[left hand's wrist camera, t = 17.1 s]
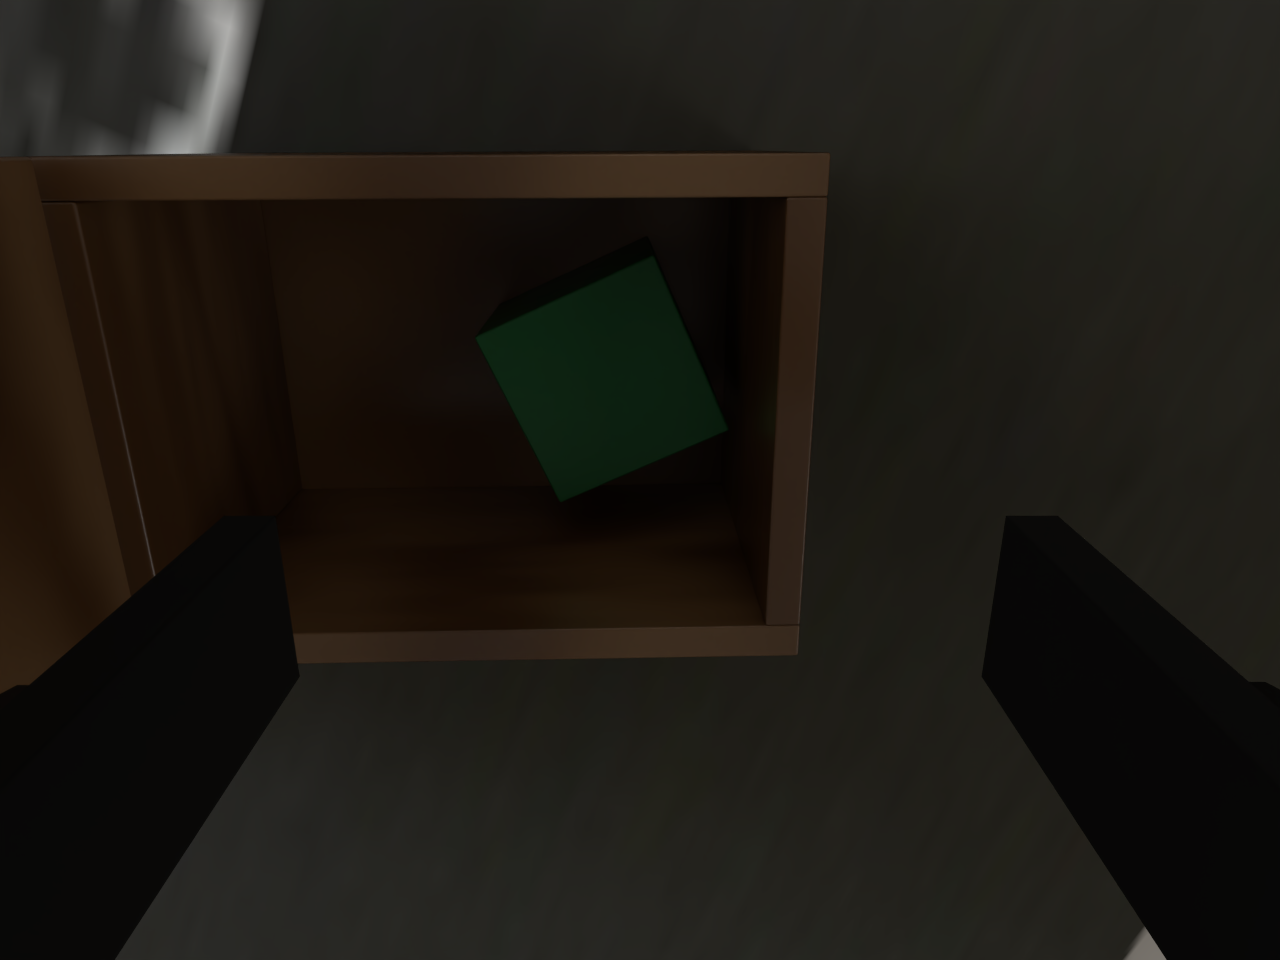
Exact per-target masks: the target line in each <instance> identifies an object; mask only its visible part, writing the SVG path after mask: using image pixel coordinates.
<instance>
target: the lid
mask: <svg viewBox="0 0 1280 960" xmlns="http://www.w3.org/2000/svg"><path fill="white" fill-rule="evenodd" d="M130 597H131V595H130V590H129V586H128V581H127V577H126V573H125V568H124V564H123V559H122V555H121V550H120V546H119V542H118V537H117V533H116V528H115V524H114V520H113V515H112V511H111V506H110V502H109V498H108V493H107V489H106V484H105V480H104V476H103V471H102V467H101V462H100V458H99V454H98V449H97V445H96V440H95V436H94V432H93V427H92V423H91V418H90V414H89V410H88V405H87V401H86V396H85V392H84V387H83V383H82V379H81V374H80V370H79V365H78V361H77V357H76V352H75V348H74V343H73V339H72V335H71V330H70V326H69V321H68V317H67V313H66V308H65V304H64V299H63V295H62V291H61V286H60V282H59V277H58V273H57V269H56V264H55V260H54V255H53V251H52V247H51V242H50V238H49V233H48V229H47V225H46V220H45V216H44V211H43V207H42V202H41V198H40V194H39V189H38V185H37V180H36V176H35V172H34V167H33V163H32V160H31V159H30V158H28V157H0V694H1V693H3V692H5V691H7V690H8V689H10V688H12V687H14V686H16V685H30V684H31V683H32V682H33V681H34V680H35V679H37V678H38V677H39V676H40V675H41V674H42V673H44V672H45V671H46V670H47V669H48V668H49V667H50V666H52V665H53V664H54V663H55V662H56V661H57V660H58V659H60V658H61V657H62V656H63V655H64V654H65V653H67V652H68V651H69V650H70V649H71V648H72V647H73V646H75V645H76V644H77V643H78V642H79V641H80V640H82V639H83V638H84V637H85V636H86V635H87V634H88V633H90V632H91V631H92V630H93V629H94V628H95V627H96V626H98V625H99V624H100V623H101V622H102V621H103V620H105V619H106V618H107V617H108V616H109V615H110V614H111V613H113V612H114V611H115V610H116V609H117V608H118V607H120V606H121V605H122V604H123V603H124V602H125V601H126V600H128V599H129V598H130Z"/></svg>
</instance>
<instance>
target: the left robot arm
mask: <svg viewBox="0 0 1280 960" xmlns="http://www.w3.org/2000/svg"><path fill="white" fill-rule="evenodd" d="M299 677H300V676H299V669H298V663H297V656H296V649H295V643H294V636H293V629H292V623H291V616H290V609H289V603H288V596H287V590H286V583H285V576H284V570H283V563H282V556H281V550H280V543H279V536H278V530H277V523H276V517H275V516H223V517H222V518H221V519H220V520H219V521H217V522H216V523H215V524H214V525H213V526H212V527H210V528H209V529H208V530H207V531H206V532H205V533H204V534H202V535H201V536H200V537H199V538H198V539H197V540H195V541H194V542H193V543H192V544H191V545H190V546H189V547H187V548H186V549H185V550H184V551H183V552H182V553H181V554H179V555H178V556H177V557H176V558H175V559H174V560H172V561H171V562H170V563H169V564H168V565H167V566H166V567H164V568H163V569H162V570H161V571H160V572H159V573H158V574H156V575H155V576H154V577H153V578H152V579H151V580H149V581H148V582H147V583H146V584H145V585H144V586H143V587H141V588H140V589H139V590H138V591H137V592H136V593H134V594H133V595H132V596H131V597H130V598H129V599H128V600H126V601H125V602H124V603H123V604H122V605H121V606H120V607H118V608H117V609H116V610H115V611H114V612H113V613H111V614H110V615H109V616H108V617H107V618H106V619H105V620H103V621H102V622H101V623H100V624H99V625H98V626H96V627H95V628H94V629H93V630H92V631H91V632H90V633H88V634H87V635H86V636H85V637H84V638H83V639H82V640H80V641H79V642H78V643H77V644H76V645H75V646H73V647H72V648H71V649H70V650H69V651H68V652H67V653H65V654H64V655H63V656H62V657H61V658H60V659H58V660H57V661H56V662H55V663H54V664H53V665H52V666H50V667H49V668H48V669H47V670H46V671H45V672H44V673H42V674H41V675H40V676H39V677H38V678H37V679H35V680H34V681H33V682H32V683H31V684H30V685H16V686H14V687H12V688H10V689H8V690H7V691H5V692H3V693H1V694H0V960H115V958H116V957H117V955H118V954H119V952H120V951H121V949H122V948H123V946H124V945H125V943H126V942H127V940H128V938H129V937H130V935H131V934H132V932H133V931H134V929H135V928H136V926H137V925H138V923H139V922H140V920H141V919H142V917H143V915H144V914H145V912H146V911H147V909H148V908H149V906H150V905H151V903H152V902H153V900H154V899H155V897H156V896H157V894H158V893H159V891H160V889H161V888H162V886H163V885H164V883H165V882H166V880H167V879H168V877H169V876H170V874H171V873H172V871H173V870H174V868H175V866H176V865H177V863H178V862H179V860H180V859H181V857H182V856H183V854H184V853H185V851H186V850H187V848H188V847H189V845H190V844H191V842H192V840H193V839H194V837H195V836H196V834H197V833H198V831H199V830H200V828H201V827H202V825H203V824H204V822H205V821H206V819H207V817H208V816H209V814H210V813H211V811H212V810H213V808H214V807H215V805H216V804H217V802H218V801H219V799H220V798H221V796H222V795H223V793H224V791H225V790H226V788H227V787H228V785H229V784H230V782H231V781H232V779H233V778H234V776H235V775H236V773H237V772H238V770H239V768H240V767H241V765H242V764H243V762H244V761H245V759H246V758H247V756H248V755H249V753H250V752H251V750H252V749H253V747H254V746H255V744H256V742H257V741H258V739H259V738H260V736H261V735H262V733H263V732H264V730H265V729H266V727H267V726H268V724H269V723H270V721H271V719H272V718H273V716H274V715H275V713H276V712H277V710H278V709H279V707H280V706H281V704H282V703H283V701H284V700H285V698H286V697H287V695H288V693H289V692H290V690H291V689H292V687H293V686H294V684H295V683H296V681H297V680H298V678H299ZM982 678H983V679H984V681H985V682H986V684H987V685H988V687H989V688H990V690H991V692H992V693H993V695H994V696H995V698H996V699H997V701H998V702H999V704H1000V705H1001V707H1002V708H1003V710H1004V711H1005V713H1006V714H1007V716H1008V718H1009V719H1010V721H1011V722H1012V724H1013V725H1014V727H1015V728H1016V730H1017V731H1018V733H1019V734H1020V736H1021V737H1022V739H1023V741H1024V742H1025V744H1026V745H1027V747H1028V748H1029V750H1030V751H1031V753H1032V754H1033V756H1034V757H1035V759H1036V760H1037V762H1038V763H1039V765H1040V767H1041V768H1042V770H1043V771H1044V773H1045V774H1046V776H1047V777H1048V779H1049V780H1050V782H1051V783H1052V785H1053V786H1054V788H1055V789H1056V791H1057V793H1058V794H1059V796H1060V797H1061V799H1062V800H1063V802H1064V803H1065V805H1066V806H1067V808H1068V809H1069V811H1070V812H1071V814H1072V816H1073V817H1074V819H1075V820H1076V822H1077V823H1078V825H1079V826H1080V828H1081V829H1082V831H1083V832H1084V834H1085V835H1086V837H1087V838H1088V840H1089V842H1090V843H1091V845H1092V846H1093V848H1094V849H1095V851H1096V852H1097V854H1098V855H1099V857H1100V858H1101V860H1102V861H1103V863H1104V865H1105V866H1106V868H1107V869H1108V871H1109V872H1110V874H1111V875H1112V877H1113V878H1114V880H1115V881H1116V883H1117V884H1118V886H1119V887H1120V889H1121V891H1122V892H1123V894H1124V895H1125V897H1126V898H1127V900H1128V901H1129V903H1130V904H1131V906H1132V907H1133V909H1134V910H1135V912H1136V913H1137V915H1138V917H1139V918H1140V920H1141V921H1142V923H1143V924H1144V926H1145V927H1146V929H1147V930H1148V932H1149V933H1150V935H1151V936H1152V938H1153V940H1154V941H1155V943H1156V944H1157V945H1158V947H1159V949H1160V950H1161V952H1162V953H1163V955H1164V956H1165V958H1166V959H1167V960H1280V690H1279V689H1278V688H1276V687H1274V686H1272V685H1270V684H1268V683H1266V682H1248V681H1247V680H1246V679H1245V678H1244V677H1243V676H1241V675H1240V674H1239V673H1238V672H1237V671H1236V670H1234V669H1233V668H1232V667H1231V666H1230V665H1229V664H1228V663H1226V662H1225V661H1224V660H1223V659H1222V658H1221V657H1219V656H1218V655H1217V654H1216V653H1215V652H1214V651H1213V650H1211V649H1210V648H1209V647H1208V646H1207V645H1206V644H1205V643H1203V642H1202V641H1201V640H1200V639H1199V638H1198V637H1196V636H1195V635H1194V634H1193V633H1192V632H1191V631H1190V630H1188V629H1187V628H1186V627H1185V626H1184V625H1183V624H1181V623H1180V622H1179V621H1178V620H1177V619H1176V618H1175V617H1173V616H1172V615H1171V614H1170V613H1169V612H1168V611H1167V610H1165V609H1164V608H1163V607H1162V606H1161V605H1160V604H1158V603H1157V602H1156V601H1155V600H1154V599H1153V598H1152V597H1150V596H1149V595H1148V594H1147V593H1146V592H1145V591H1143V590H1142V589H1141V588H1140V587H1139V586H1138V585H1137V584H1135V583H1134V582H1133V581H1132V580H1131V579H1130V578H1128V577H1127V576H1126V575H1125V574H1124V573H1123V572H1122V571H1120V570H1119V569H1118V568H1117V567H1116V566H1115V565H1114V564H1112V563H1111V562H1110V561H1109V560H1108V559H1107V558H1105V557H1104V556H1103V555H1102V554H1101V553H1100V552H1099V551H1097V550H1096V549H1095V548H1094V547H1093V546H1092V545H1090V544H1089V543H1088V542H1087V541H1086V540H1085V539H1084V538H1082V537H1081V536H1080V535H1079V534H1078V533H1077V532H1076V531H1074V530H1073V529H1072V528H1071V527H1070V526H1069V525H1067V524H1066V523H1065V522H1064V521H1063V520H1062V519H1061V518H1059V517H1058V516H1006V519H1005V526H1004V533H1003V539H1002V546H1001V552H1000V559H999V566H998V572H997V579H996V586H995V592H994V599H993V605H992V612H991V619H990V625H989V632H988V638H987V645H986V652H985V658H984V665H983V671H982Z"/></svg>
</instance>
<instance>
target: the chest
mask: <svg viewBox="0 0 1280 960" xmlns="http://www.w3.org/2000/svg"><path fill="white" fill-rule="evenodd" d="M26 157H28V158H30V159H31V160H32V163H33V167H34V172H35V176H36V180H37V185H38V189H39V194H40V198H41V202H42V207H43V211H44V216H45V220H46V225H47V229H48V233H49V238H50V242H51V247H52V251H53V255H54V260H55V264H56V269H57V273H58V277H59V282H60V286H61V291H62V295H63V299H64V304H65V308H66V313H67V317H68V321H69V326H70V330H71V335H72V339H73V343H74V348H75V352H76V357H77V361H78V365H79V370H80V374H81V379H82V383H83V387H84V392H85V396H86V401H87V405H88V410H89V414H90V418H91V423H92V427H93V432H94V436H95V440H96V445H97V449H98V454H99V458H100V462H101V467H102V471H103V476H104V480H105V484H106V489H107V493H108V498H109V502H110V506H111V511H112V515H113V520H114V524H115V528H116V533H117V537H118V542H119V546H120V550H121V555H122V559H123V564H124V568H125V573H126V577H127V581H128V586H129V590H130V595H131V596H132V595H133V594H134V593H136V592H137V591H138V590H139V589H140V588H141V587H143V586H144V585H145V584H146V583H147V582H148V581H149V580H151V579H152V578H153V577H154V576H155V575H156V574H158V573H159V572H160V571H161V570H162V569H163V568H164V567H166V566H167V565H168V564H169V563H170V562H171V561H172V560H174V559H175V558H176V557H177V556H178V555H179V554H181V553H182V552H183V551H184V550H185V549H186V548H187V547H189V546H190V545H191V544H192V543H193V542H194V541H195V540H197V539H198V538H199V537H200V536H201V535H202V534H204V533H205V532H206V531H207V530H208V529H209V528H210V527H212V526H213V525H214V524H215V523H216V522H217V521H219V520H220V519H221V518H222V517H223V516H275V517H276V523H277V530H278V536H279V543H280V550H281V556H282V563H283V570H284V576H285V583H286V590H287V596H288V603H289V609H290V616H291V623H292V629H293V636H294V643H295V649H296V656H297V663H356V662H415V661H475V660H535V659H595V658H654V657H714V656H774V655H797V654H798V643H799V627H800V626H799V623H800V611H801V596H802V581H803V566H804V550H805V535H806V520H807V505H808V489H809V474H810V459H811V444H812V428H813V413H814V398H815V383H816V367H817V352H818V337H819V322H820V306H821V291H822V276H823V261H824V245H825V230H826V215H827V197H826V196H827V195H828V184H829V169H830V153H824V152H787V151H560V152H349V153H209V154H147V155H85V156H26ZM644 237H648V238H649V240H650V242H651V245H652V247H653V249H654V252H655V254H656V256H657V258H658V261H659V263H660V265H661V268H662V270H663V272H664V275H665V277H666V279H667V282H668V284H669V286H670V289H671V291H672V293H673V296H674V298H675V300H676V303H677V305H678V307H679V310H680V312H681V314H682V317H683V319H684V321H685V324H686V326H687V328H688V331H689V333H690V335H691V338H692V340H693V342H694V345H695V347H696V349H697V352H698V354H699V356H700V359H701V361H702V363H703V365H704V368H705V370H706V372H707V375H708V377H709V379H710V382H711V384H712V387H713V389H714V392H715V394H716V397H717V399H718V402H719V404H720V407H721V409H722V412H723V414H724V417H725V419H726V422H727V424H728V427H729V430H728V431H727V432H724V433H722V434H720V435H717V436H715V437H713V438H710V439H708V440H706V441H703V442H701V443H699V444H696V445H694V446H692V447H689V448H687V449H685V450H682V451H680V452H678V453H675V454H673V455H671V456H668V457H666V458H664V459H661V460H659V461H657V462H654V463H652V464H650V465H647V466H645V467H643V468H640V469H638V470H636V471H633V472H631V473H629V474H626V475H624V476H622V477H619V478H617V479H615V480H612V481H610V482H608V483H605V484H603V485H601V486H598V487H596V488H594V489H591V490H589V491H587V492H584V493H582V494H580V495H577V496H575V497H573V498H570V499H568V500H566V501H563V502H560V501H559V500H558V498H557V496H556V495H555V493H554V491H553V489H552V487H551V485H550V483H549V481H548V479H547V477H546V475H545V473H544V471H543V469H542V468H541V466H540V464H539V462H538V460H537V458H536V456H535V454H534V452H533V450H532V448H531V446H530V444H529V442H528V440H527V439H526V437H525V435H524V433H523V431H522V429H521V427H520V425H519V423H518V421H517V419H516V417H515V415H514V413H513V412H512V410H511V408H510V406H509V404H508V402H507V400H506V398H505V396H504V394H503V392H502V390H501V388H500V386H499V384H498V383H497V381H496V379H495V377H494V375H493V373H492V371H491V369H490V367H489V365H488V363H487V361H486V359H485V357H484V355H483V354H482V352H481V350H480V348H479V346H478V344H477V342H476V340H475V336H476V335H477V334H478V332H479V331H480V330H481V328H482V327H483V326H484V324H485V323H486V322H487V320H488V319H489V318H490V316H491V315H492V314H493V312H494V311H495V310H496V308H497V307H498V305H499V304H501V303H503V302H505V301H507V300H510V299H512V298H514V297H516V296H518V295H520V294H523V293H525V292H527V291H529V290H531V289H533V288H536V287H538V286H540V285H542V284H544V283H546V282H548V281H551V280H553V279H555V278H557V277H559V276H561V275H564V274H566V273H568V272H570V271H572V270H574V269H577V268H579V267H581V266H583V265H585V264H587V263H590V262H592V261H594V260H596V259H598V258H600V257H603V256H605V255H607V254H609V253H611V252H613V251H615V250H618V249H620V248H622V247H624V246H626V245H628V244H631V243H633V242H635V241H637V240H639V239H641V238H644Z"/></svg>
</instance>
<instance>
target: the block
mask: <svg viewBox="0 0 1280 960" xmlns="http://www.w3.org/2000/svg"><path fill="white" fill-rule="evenodd" d="M475 340H476V342H477V344H478V346H479V348H480V350H481V352H482V354H483V355H484V357H485V359H486V361H487V363H488V365H489V367H490V369H491V371H492V373H493V375H494V377H495V379H496V381H497V383H498V384H499V386H500V388H501V390H502V392H503V394H504V396H505V398H506V400H507V402H508V404H509V406H510V408H511V410H512V412H513V413H514V415H515V417H516V419H517V421H518V423H519V425H520V427H521V429H522V431H523V433H524V435H525V437H526V439H527V440H528V442H529V444H530V446H531V448H532V450H533V452H534V454H535V456H536V458H537V460H538V462H539V464H540V466H541V468H542V469H543V471H544V473H545V475H546V477H547V479H548V481H549V483H550V485H551V487H552V489H553V491H554V493H555V495H556V496H557V498H558V500H559V501H560V502H563V501H566V500H568V499H570V498H573V497H575V496H577V495H580V494H582V493H584V492H587V491H589V490H591V489H594V488H596V487H598V486H601V485H603V484H605V483H608V482H610V481H612V480H615V479H617V478H619V477H622V476H624V475H626V474H629V473H631V472H633V471H636V470H638V469H640V468H643V467H645V466H647V465H650V464H652V463H654V462H657V461H659V460H661V459H664V458H666V457H668V456H671V455H673V454H675V453H678V452H680V451H682V450H685V449H687V448H689V447H692V446H694V445H696V444H699V443H701V442H703V441H706V440H708V439H710V438H713V437H715V436H717V435H720V434H722V433H724V432H727V431H728V430H729V427H728V424H727V422H726V419H725V417H724V414H723V412H722V409H721V407H720V404H719V402H718V399H717V397H716V394H715V392H714V389H713V387H712V384H711V382H710V379H709V377H708V375H707V372H706V370H705V368H704V365H703V363H702V361H701V359H700V356H699V354H698V352H697V349H696V347H695V345H694V342H693V340H692V338H691V335H690V333H689V331H688V328H687V326H686V324H685V321H684V319H683V317H682V314H681V312H680V310H679V307H678V305H677V303H676V300H675V298H674V296H673V293H672V291H671V289H670V286H669V284H668V282H667V279H666V277H665V275H664V272H663V270H662V268H661V265H660V263H659V261H658V258H657V256H656V254H655V252H654V249H653V247H652V245H651V242H650V240H649V238H648V237H644V238H641V239H639V240H637V241H635V242H633V243H631V244H628V245H626V246H624V247H622V248H620V249H618V250H615V251H613V252H611V253H609V254H607V255H605V256H603V257H600V258H598V259H596V260H594V261H592V262H590V263H587V264H585V265H583V266H581V267H579V268H577V269H574V270H572V271H570V272H568V273H566V274H564V275H561V276H559V277H557V278H555V279H553V280H551V281H548V282H546V283H544V284H542V285H540V286H538V287H536V288H533V289H531V290H529V291H527V292H525V293H523V294H520V295H518V296H516V297H514V298H512V299H510V300H507V301H505V302H503V303H501V304H499V305H498V307H497V308H496V310H495V311H494V312H493V314H492V315H491V316H490V318H489V319H488V320H487V322H486V323H485V324H484V326H483V327H482V328H481V330H480V331H479V332H478V334H477V335H476V336H475Z"/></svg>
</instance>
